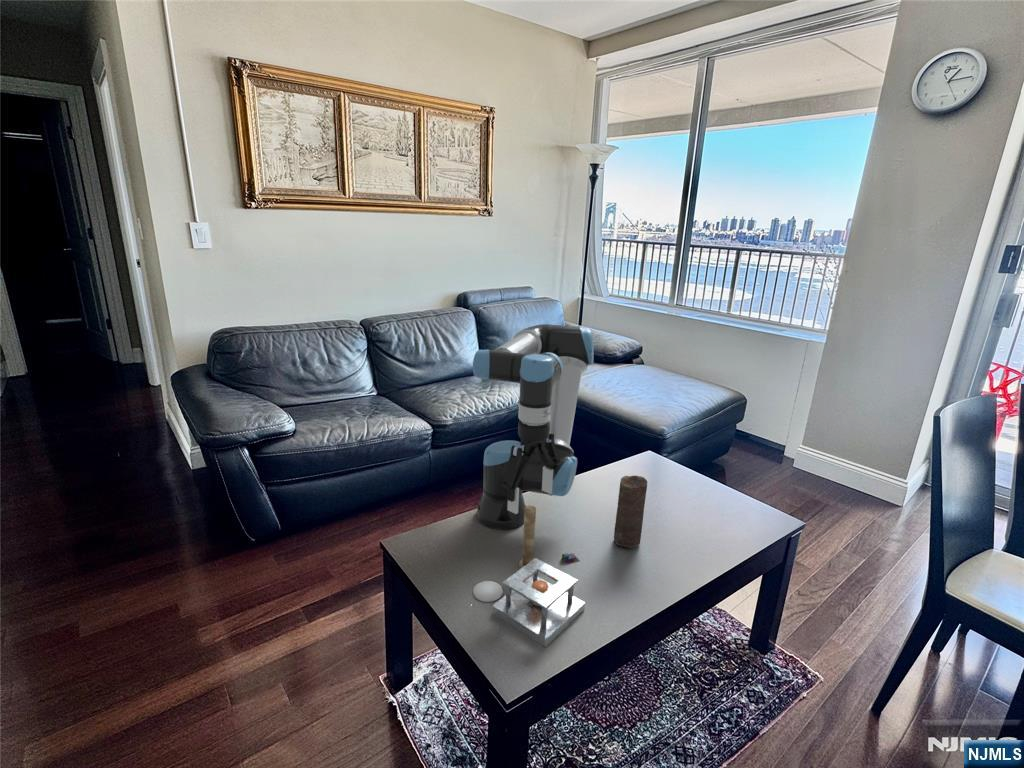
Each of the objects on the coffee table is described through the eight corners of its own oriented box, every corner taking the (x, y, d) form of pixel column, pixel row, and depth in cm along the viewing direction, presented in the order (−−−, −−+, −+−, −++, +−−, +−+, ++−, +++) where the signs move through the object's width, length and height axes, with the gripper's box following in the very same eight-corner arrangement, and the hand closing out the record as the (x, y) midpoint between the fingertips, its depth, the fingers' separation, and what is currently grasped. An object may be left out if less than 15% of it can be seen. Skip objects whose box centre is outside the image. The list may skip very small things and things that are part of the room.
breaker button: (528, 600, 118) (528, 585, 116) (537, 592, 120) (538, 578, 119) (540, 608, 115) (541, 593, 114) (550, 600, 118) (551, 585, 117)
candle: (640, 553, 141) (648, 487, 136) (613, 549, 143) (619, 483, 137) (639, 537, 148) (647, 474, 143) (613, 534, 150) (619, 471, 144)
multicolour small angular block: (567, 566, 136) (567, 558, 135) (561, 560, 138) (562, 552, 137) (581, 562, 137) (581, 554, 137) (575, 556, 140) (576, 549, 139)
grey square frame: (492, 612, 118) (493, 582, 115) (533, 581, 129) (534, 552, 126) (545, 647, 109) (547, 614, 106) (584, 609, 120) (586, 579, 117)
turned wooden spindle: (515, 567, 134) (517, 508, 129) (526, 559, 137) (528, 502, 132) (529, 574, 131) (531, 515, 126) (539, 566, 134) (542, 508, 130)
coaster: (467, 592, 124) (467, 591, 124) (487, 578, 129) (487, 577, 129) (488, 606, 120) (488, 605, 120) (508, 591, 125) (508, 590, 125)
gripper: (512, 439, 111) (509, 527, 117) (576, 411, 129) (571, 488, 135) (486, 430, 115) (484, 515, 121) (552, 405, 134) (548, 479, 140)
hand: (530, 501), depth 128 cm, fingers open, 13 cm apart
